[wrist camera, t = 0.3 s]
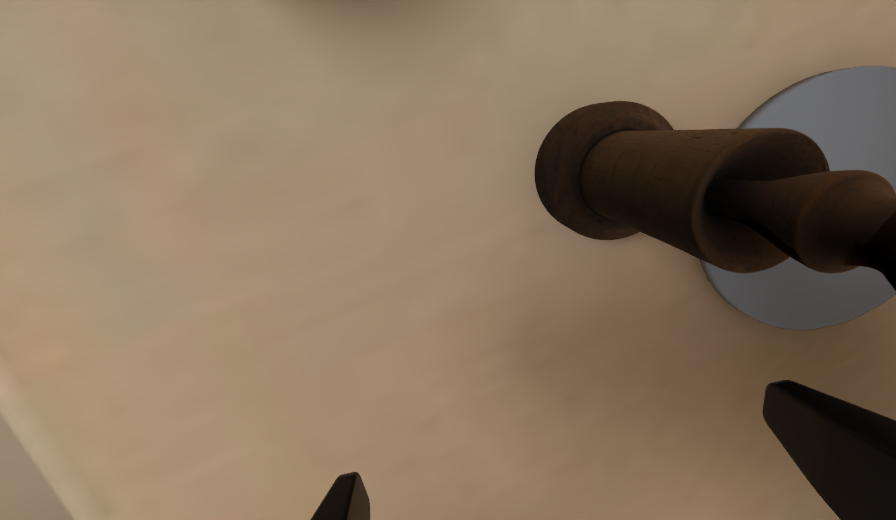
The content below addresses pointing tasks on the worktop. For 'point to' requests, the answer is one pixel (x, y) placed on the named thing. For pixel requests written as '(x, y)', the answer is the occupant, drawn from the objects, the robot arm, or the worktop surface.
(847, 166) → the mat
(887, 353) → the worktop surface
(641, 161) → the wooden pepper mill
